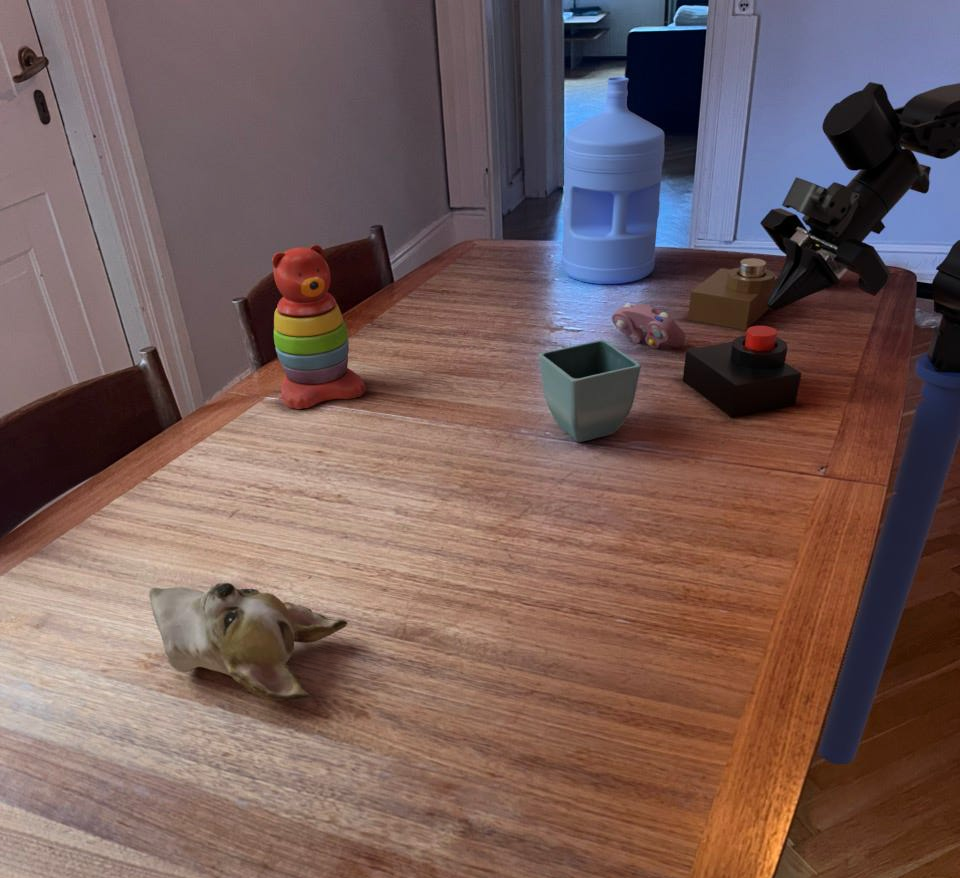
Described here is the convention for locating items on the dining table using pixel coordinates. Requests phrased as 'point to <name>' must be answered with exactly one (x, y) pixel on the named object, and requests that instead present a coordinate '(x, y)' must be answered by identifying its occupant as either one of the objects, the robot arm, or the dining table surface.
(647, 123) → the water jug
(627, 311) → the video game controller
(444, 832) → the dining table surface
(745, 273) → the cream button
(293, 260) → the stacking bear
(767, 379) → the near box
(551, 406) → the flower pot
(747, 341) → the red button
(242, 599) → the ceramic sculpture
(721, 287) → the far box
